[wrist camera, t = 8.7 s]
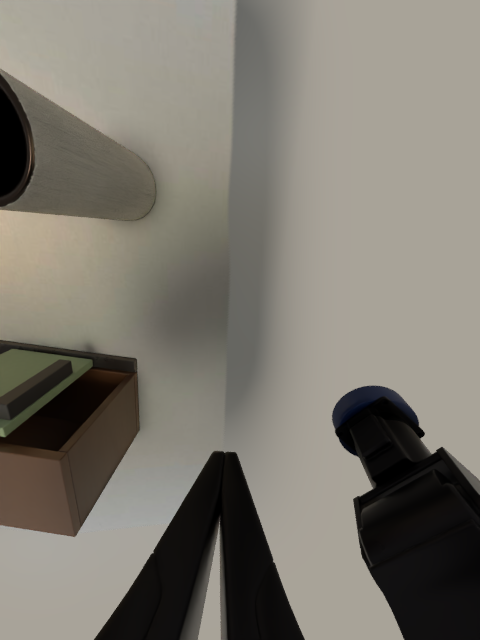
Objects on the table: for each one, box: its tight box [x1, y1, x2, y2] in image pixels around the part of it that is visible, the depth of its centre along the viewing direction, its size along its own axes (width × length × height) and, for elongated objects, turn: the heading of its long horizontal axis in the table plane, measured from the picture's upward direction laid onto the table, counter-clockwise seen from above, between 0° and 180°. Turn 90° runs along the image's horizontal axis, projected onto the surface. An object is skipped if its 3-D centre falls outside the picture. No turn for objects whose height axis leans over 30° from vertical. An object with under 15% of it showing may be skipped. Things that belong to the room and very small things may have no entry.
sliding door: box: [0, 349, 93, 437], centre depth 18 cm, size 8×2×8 cm, turn 84°
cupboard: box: [0, 341, 139, 537], centre depth 20 cm, size 15×9×10 cm, turn 84°
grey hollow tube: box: [0, 69, 156, 221], centre depth 13 cm, size 4×4×10 cm
